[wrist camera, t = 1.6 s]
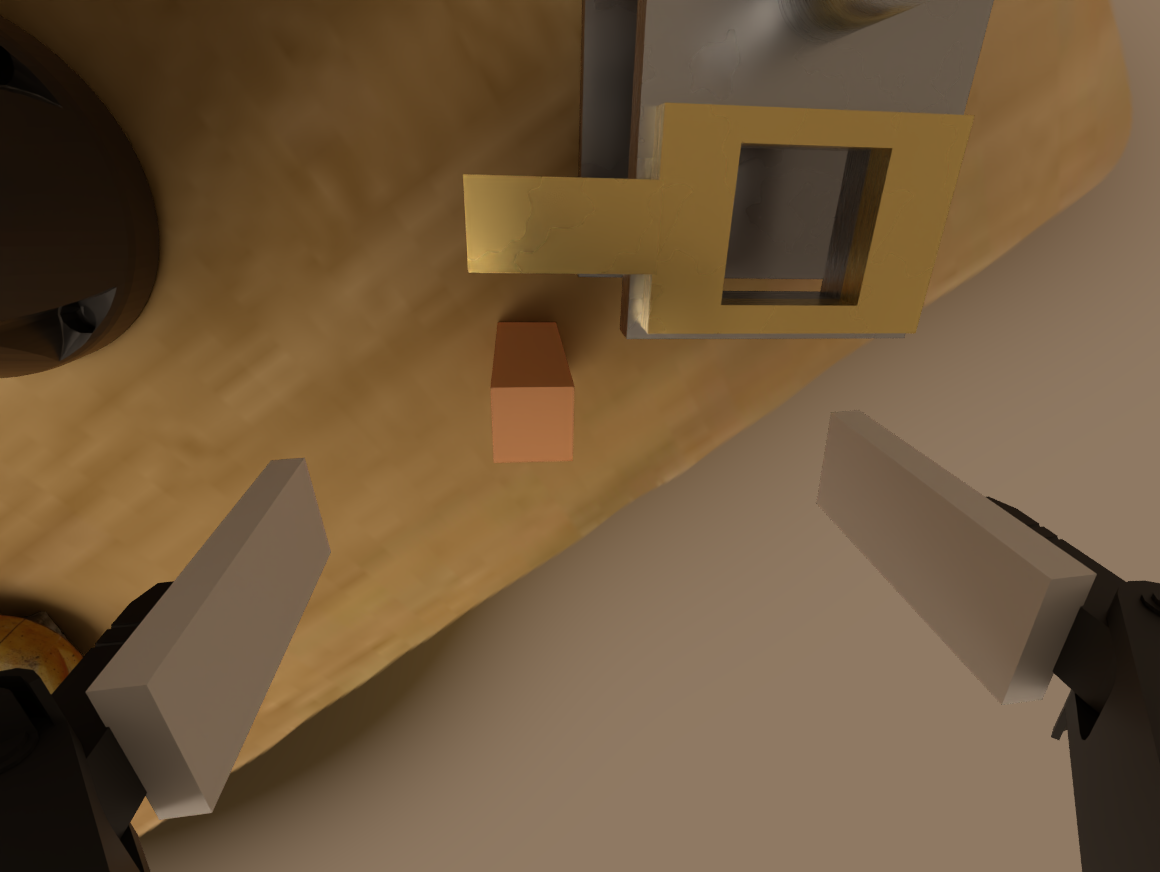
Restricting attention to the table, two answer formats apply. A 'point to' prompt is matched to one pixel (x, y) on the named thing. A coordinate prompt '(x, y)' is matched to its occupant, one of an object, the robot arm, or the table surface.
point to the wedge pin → (531, 394)
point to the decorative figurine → (37, 648)
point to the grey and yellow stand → (751, 164)
